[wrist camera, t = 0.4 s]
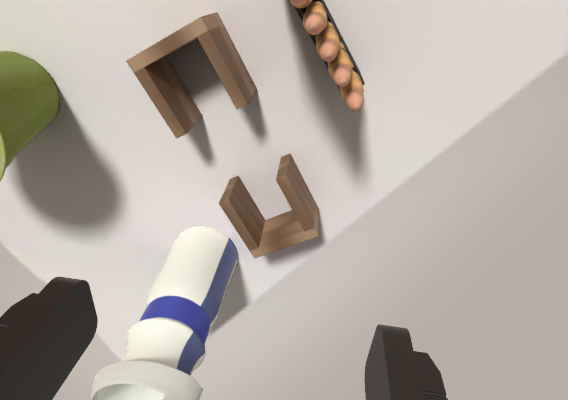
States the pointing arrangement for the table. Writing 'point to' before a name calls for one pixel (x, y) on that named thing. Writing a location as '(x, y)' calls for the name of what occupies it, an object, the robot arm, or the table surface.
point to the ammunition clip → (332, 50)
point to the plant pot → (23, 103)
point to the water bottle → (173, 322)
